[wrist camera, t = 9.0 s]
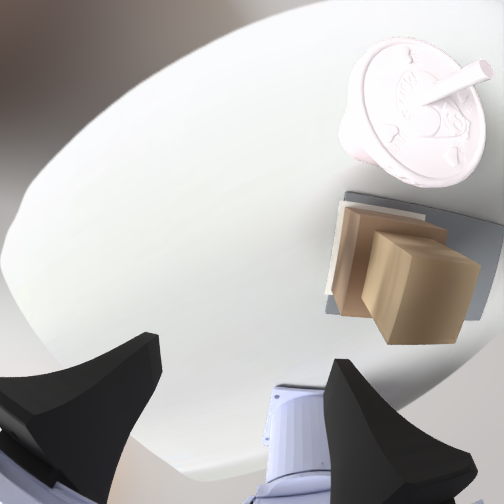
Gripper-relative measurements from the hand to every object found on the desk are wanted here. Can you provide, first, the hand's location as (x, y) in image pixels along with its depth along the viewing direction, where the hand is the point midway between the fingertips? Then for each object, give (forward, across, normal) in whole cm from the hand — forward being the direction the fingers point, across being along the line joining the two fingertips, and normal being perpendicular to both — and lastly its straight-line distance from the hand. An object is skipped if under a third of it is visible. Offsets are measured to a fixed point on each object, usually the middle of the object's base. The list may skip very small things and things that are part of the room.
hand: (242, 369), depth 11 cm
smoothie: (+11, -6, -11) cm, 17 cm away
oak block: (+6, -8, -3) cm, 10 cm away
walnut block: (+10, -8, -3) cm, 13 cm away
